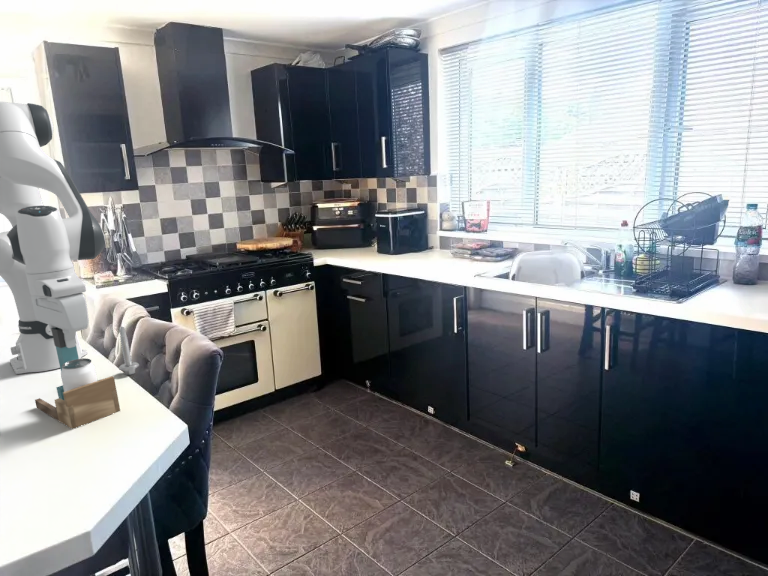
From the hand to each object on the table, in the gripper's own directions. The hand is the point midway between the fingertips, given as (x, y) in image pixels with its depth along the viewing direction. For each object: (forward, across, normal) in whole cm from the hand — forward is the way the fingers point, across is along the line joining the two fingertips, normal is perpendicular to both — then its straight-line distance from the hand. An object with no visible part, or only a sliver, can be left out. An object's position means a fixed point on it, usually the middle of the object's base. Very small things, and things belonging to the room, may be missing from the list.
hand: (65, 345), depth 117 cm
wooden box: (+15, -1, 0) cm, 16 cm away
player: (+15, 0, 0) cm, 16 cm away
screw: (+16, -13, +18) cm, 27 cm away
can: (+15, +4, 0) cm, 16 cm away
